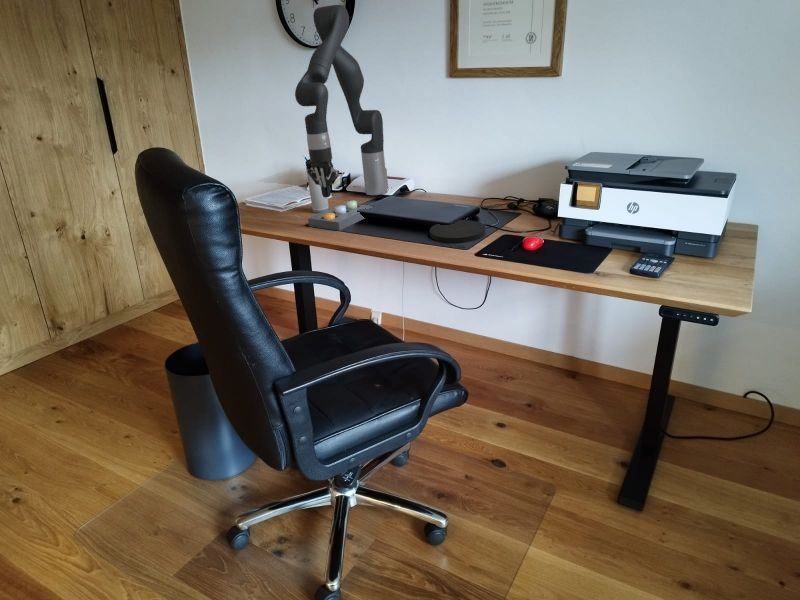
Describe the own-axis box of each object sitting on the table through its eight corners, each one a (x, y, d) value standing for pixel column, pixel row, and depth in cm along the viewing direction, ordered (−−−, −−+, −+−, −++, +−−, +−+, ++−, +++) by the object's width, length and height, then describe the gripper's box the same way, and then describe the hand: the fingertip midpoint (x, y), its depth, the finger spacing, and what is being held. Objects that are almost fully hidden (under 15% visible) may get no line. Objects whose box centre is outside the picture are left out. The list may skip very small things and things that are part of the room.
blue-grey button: (340, 214, 205) (339, 204, 204) (349, 215, 203) (347, 205, 202) (333, 217, 202) (332, 207, 201) (342, 218, 200) (340, 208, 199)
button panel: (343, 210, 214) (342, 203, 213) (373, 214, 207) (372, 206, 206) (309, 226, 200) (307, 218, 198) (339, 230, 192) (338, 222, 191)
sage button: (351, 209, 210) (350, 200, 209) (359, 210, 208) (358, 200, 206) (344, 212, 207) (343, 203, 206) (353, 213, 205) (352, 203, 203)
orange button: (329, 221, 201) (328, 212, 199) (338, 222, 199) (336, 213, 197) (322, 225, 198) (320, 215, 196) (331, 226, 196) (329, 216, 194)
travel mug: (330, 207, 219) (323, 156, 211) (327, 212, 214) (319, 160, 205) (315, 208, 220) (307, 157, 212) (311, 213, 214) (303, 161, 206)
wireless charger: (443, 223, 191) (443, 218, 190) (493, 228, 183) (493, 222, 182) (420, 241, 177) (420, 235, 176) (473, 246, 169) (473, 240, 168)
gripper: (341, 144, 186) (348, 195, 194) (311, 143, 193) (319, 192, 200) (327, 149, 180) (334, 201, 188) (297, 148, 187) (305, 198, 195)
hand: (326, 196), depth 194 cm, fingers closed
